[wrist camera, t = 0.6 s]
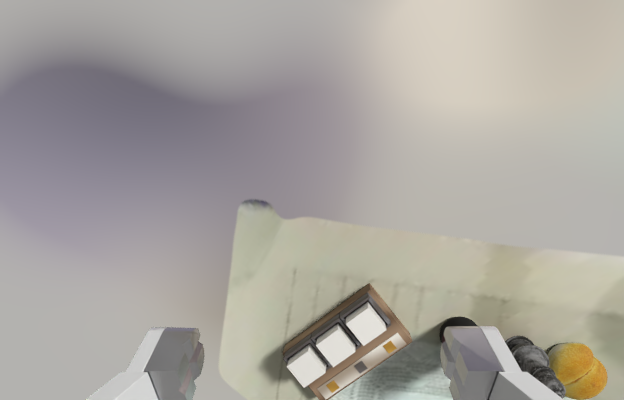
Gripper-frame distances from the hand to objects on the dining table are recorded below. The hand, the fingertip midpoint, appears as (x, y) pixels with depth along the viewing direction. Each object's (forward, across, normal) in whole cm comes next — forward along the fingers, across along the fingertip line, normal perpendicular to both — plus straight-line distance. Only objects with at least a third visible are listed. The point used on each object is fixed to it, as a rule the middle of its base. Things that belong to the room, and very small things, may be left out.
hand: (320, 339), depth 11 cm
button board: (+34, +4, -41) cm, 53 cm away
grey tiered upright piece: (+32, +33, -41) cm, 61 cm away
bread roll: (+30, +41, -43) cm, 67 cm away
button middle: (+31, +2, -37) cm, 48 cm away
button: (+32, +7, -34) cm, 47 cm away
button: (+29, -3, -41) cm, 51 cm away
